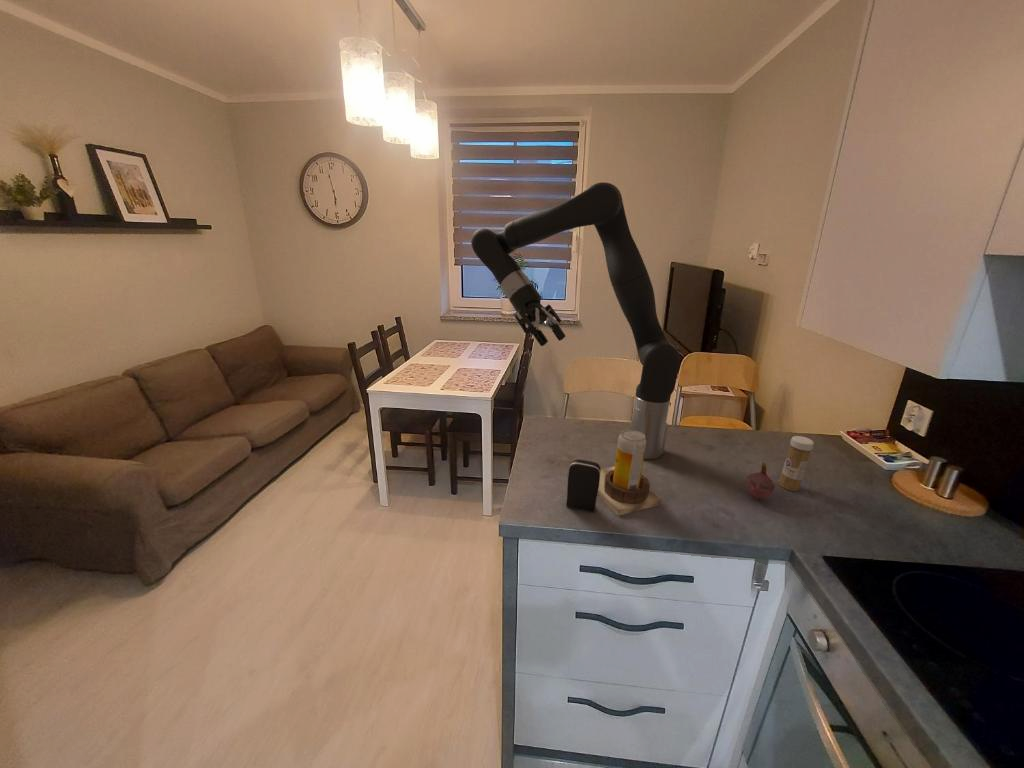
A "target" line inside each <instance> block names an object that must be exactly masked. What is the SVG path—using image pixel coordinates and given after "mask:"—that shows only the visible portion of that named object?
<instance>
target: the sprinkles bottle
mask: <svg viewBox="0 0 1024 768" xmlns="http://www.w3.org/2000/svg"><path fill="white" fill-rule="evenodd" d="M814 443H815V442H814V441H813V440H812V439H810V438H808V437H805V436H800V435H793V436H792V437H791V439H790V442H789V445H790V446H789V449H788V452H787V456H786V459H785V461H784V464H783V466H782V467H783V468H782V472H781V475H780V479H779V480H778V484H779V486H780V487H781V488H783V489H785V490H787V491H793V492H797V491H799V490H800V488H801V487H800V486H801V482H802V480H803V478H804V474H805V471H806V468H807V465H808V462H809V457H810V455H811V452H812V450H813V448H814Z"/></svg>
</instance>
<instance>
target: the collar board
mask: <svg viewBox="0 0 1024 768" xmlns="http://www.w3.org/2000/svg"><path fill="white" fill-rule="evenodd" d="M614 468H615V465H614V466H610V467H604V468H601V473H600V483H599V490H598V495H597V497H599V498H600V500H601V501H603V502H604V504H606V505H607V506H608V507H609V508H610V510H612V511H613V512H614V514H616V515H617V516H622V515H625V514H630V513H633V512H638V511H640V510H646V509H649V508H653V507H657V506H661V504H662V498H660V496H658V495H657V494H656V493H655V492H654V491H652V490H651V489H650V488H651V485H650V481H649V479H648V478H647V477H646V476H644V475H643V474H642V473H641V478H640V484H639V490H625V489H622V488H620V487H617V486H615V485H614V484H613V476H614Z"/></svg>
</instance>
